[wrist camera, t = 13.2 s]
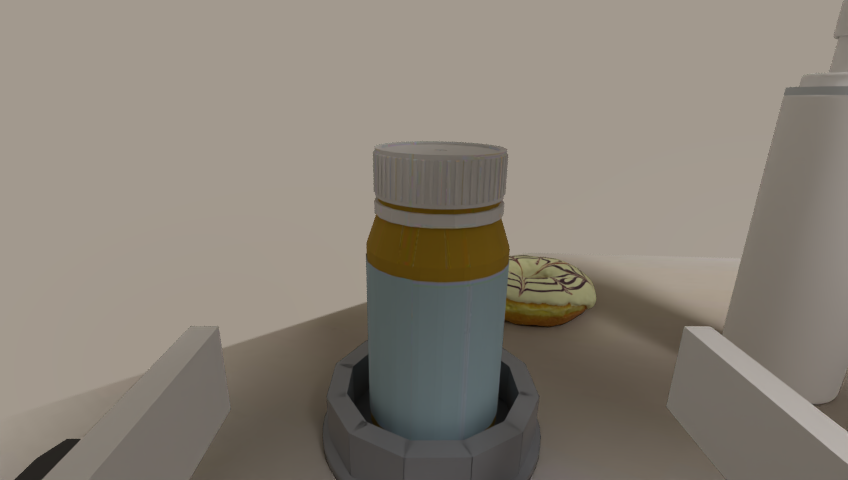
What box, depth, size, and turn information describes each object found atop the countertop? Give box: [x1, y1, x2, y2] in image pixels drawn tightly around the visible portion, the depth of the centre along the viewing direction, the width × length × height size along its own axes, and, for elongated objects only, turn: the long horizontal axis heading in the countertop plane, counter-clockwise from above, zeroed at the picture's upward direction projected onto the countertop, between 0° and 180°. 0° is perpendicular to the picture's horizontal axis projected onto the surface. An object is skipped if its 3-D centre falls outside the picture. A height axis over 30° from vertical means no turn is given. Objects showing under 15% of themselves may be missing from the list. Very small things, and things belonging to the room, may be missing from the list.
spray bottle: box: [722, 0, 848, 404], centre depth 27 cm, size 7×7×25 cm
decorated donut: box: [504, 255, 596, 327], centre depth 40 cm, size 10×11×4 cm
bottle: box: [366, 141, 510, 440], centre depth 22 cm, size 7×7×15 cm
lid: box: [323, 340, 541, 480], centre depth 24 cm, size 12×12×3 cm
